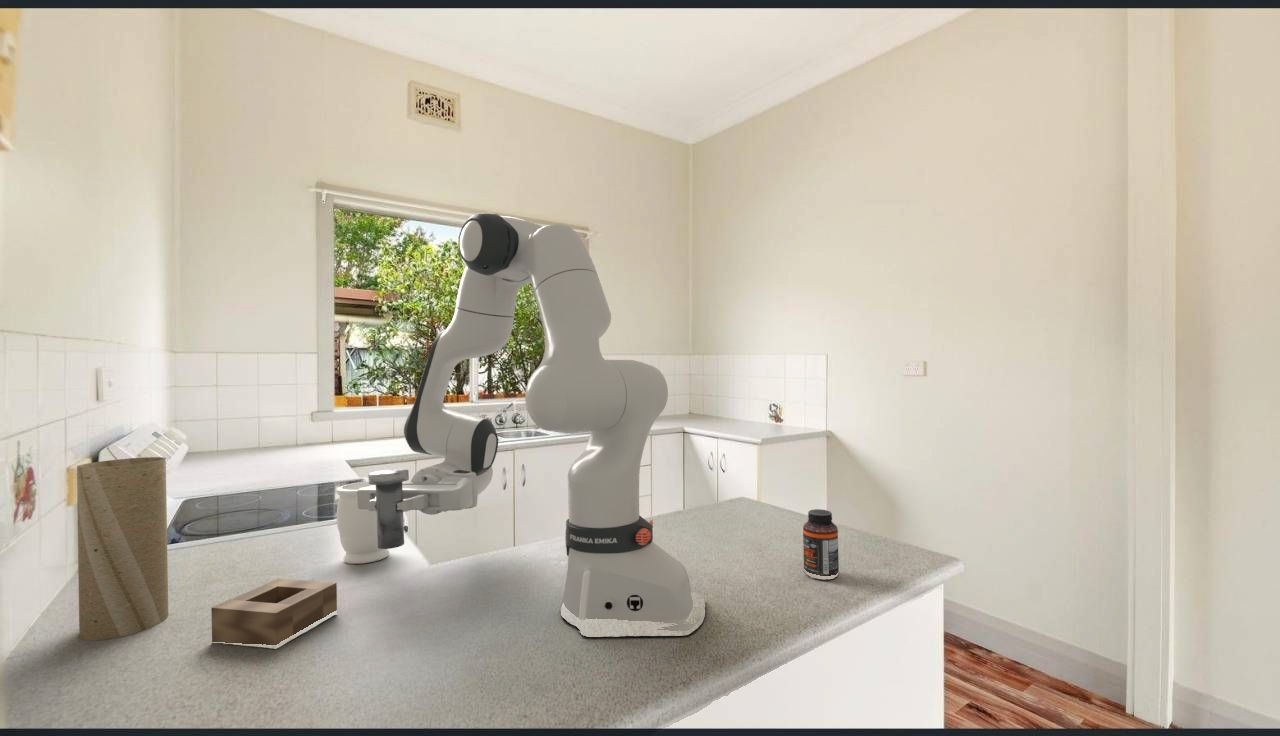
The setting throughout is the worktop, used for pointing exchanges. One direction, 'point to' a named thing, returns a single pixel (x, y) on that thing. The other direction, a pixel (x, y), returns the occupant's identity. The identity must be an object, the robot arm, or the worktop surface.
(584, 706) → the worktop surface
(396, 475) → the pin
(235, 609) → the block
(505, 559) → the worktop surface
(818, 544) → the supplement bottle
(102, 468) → the tube
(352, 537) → the jar
